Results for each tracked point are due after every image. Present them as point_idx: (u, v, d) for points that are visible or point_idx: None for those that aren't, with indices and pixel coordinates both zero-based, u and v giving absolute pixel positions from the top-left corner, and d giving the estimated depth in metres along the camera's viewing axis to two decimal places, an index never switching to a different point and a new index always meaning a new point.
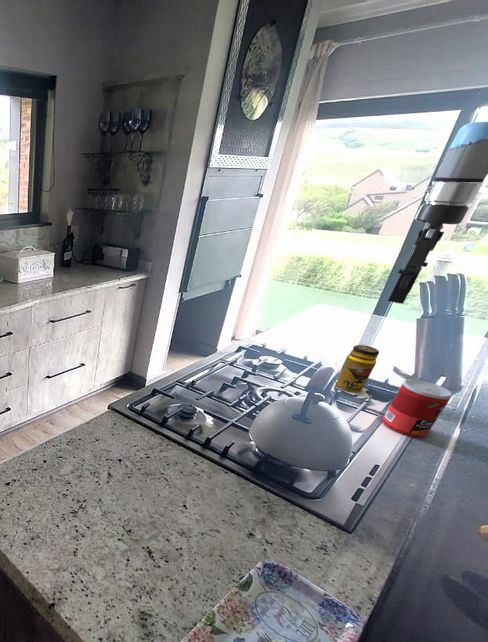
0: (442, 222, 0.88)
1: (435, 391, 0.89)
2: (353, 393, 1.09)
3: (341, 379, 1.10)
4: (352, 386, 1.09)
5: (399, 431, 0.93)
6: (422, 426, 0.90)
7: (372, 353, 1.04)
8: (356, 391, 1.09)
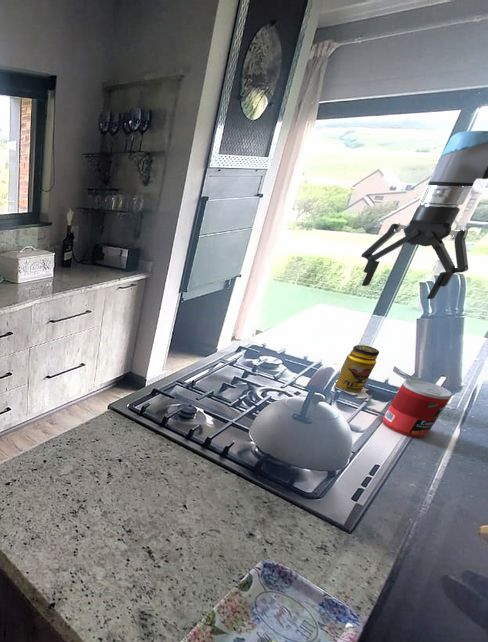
0: None
1: (435, 391, 0.89)
2: (353, 393, 1.09)
3: (341, 379, 1.10)
4: (352, 386, 1.09)
5: (399, 431, 0.93)
6: (422, 426, 0.90)
7: (372, 354, 1.04)
8: (356, 391, 1.09)
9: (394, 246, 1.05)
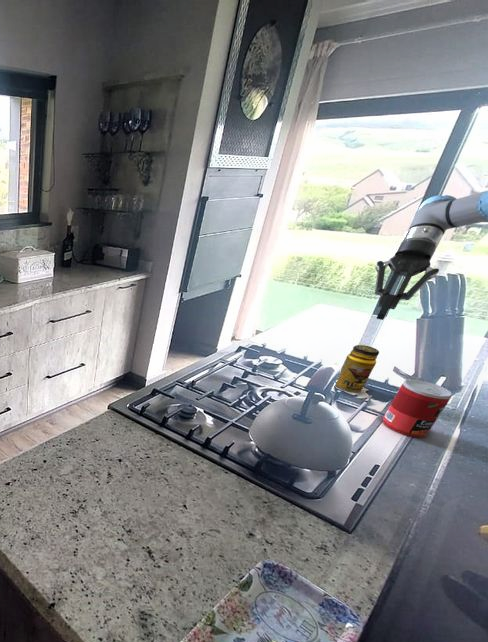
0: None
1: (435, 391, 0.89)
2: (353, 393, 1.09)
3: (341, 379, 1.10)
4: (352, 386, 1.09)
5: (399, 431, 0.93)
6: (422, 426, 0.90)
7: (372, 353, 1.04)
8: (356, 391, 1.09)
9: (396, 276, 1.11)
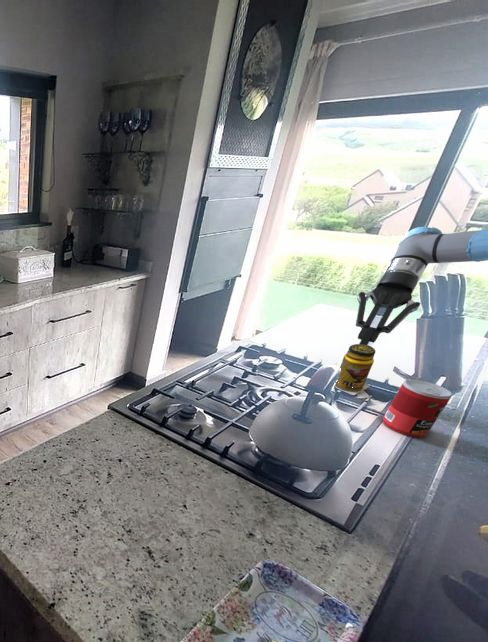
0: None
1: (435, 391, 0.89)
2: (353, 392, 1.09)
3: (340, 379, 1.10)
4: (351, 385, 1.08)
5: (399, 431, 0.93)
6: (422, 426, 0.90)
7: (368, 354, 1.03)
8: (356, 390, 1.09)
9: (377, 308, 1.10)
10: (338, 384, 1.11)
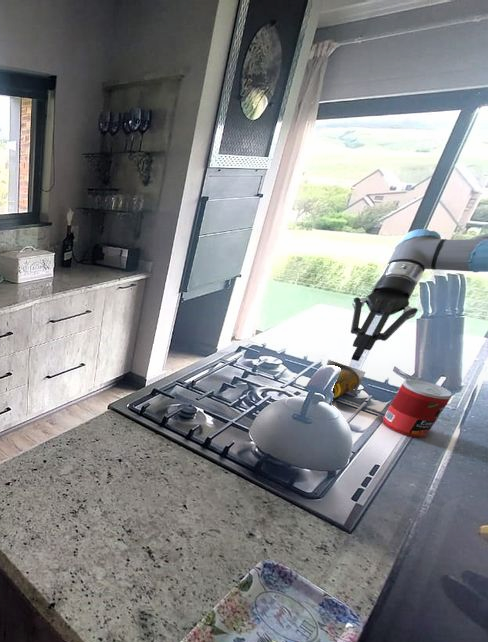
0: None
1: (435, 391, 0.89)
2: (352, 391, 1.08)
3: None
4: None
5: (399, 431, 0.93)
6: (422, 426, 0.90)
7: None
8: (353, 387, 1.07)
9: (372, 315, 1.05)
10: None
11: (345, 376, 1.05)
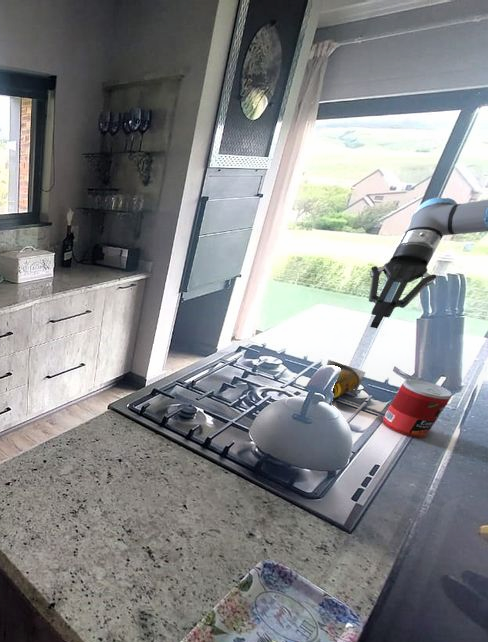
0: None
1: (435, 391, 0.89)
2: (352, 391, 1.08)
3: None
4: None
5: (399, 431, 0.93)
6: (422, 426, 0.90)
7: None
8: (353, 387, 1.07)
9: (391, 282, 1.06)
10: None
11: (345, 376, 1.05)
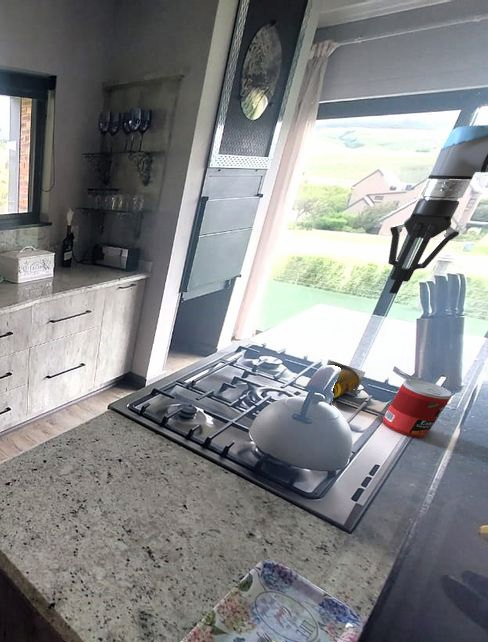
0: None
1: (435, 391, 0.89)
2: (352, 391, 1.08)
3: None
4: None
5: (399, 431, 0.93)
6: (422, 426, 0.90)
7: None
8: (353, 387, 1.07)
9: (410, 245, 1.05)
10: None
11: (345, 376, 1.05)
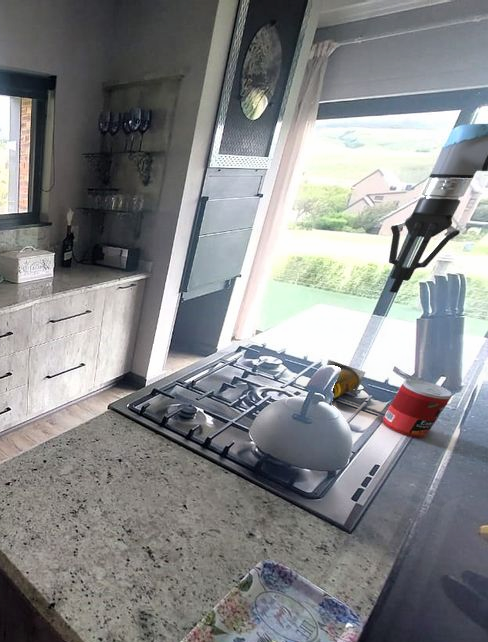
0: None
1: (435, 391, 0.89)
2: (352, 391, 1.08)
3: None
4: None
5: (399, 431, 0.93)
6: (422, 426, 0.90)
7: None
8: (353, 387, 1.07)
9: (410, 244, 1.04)
10: None
11: (345, 376, 1.05)
